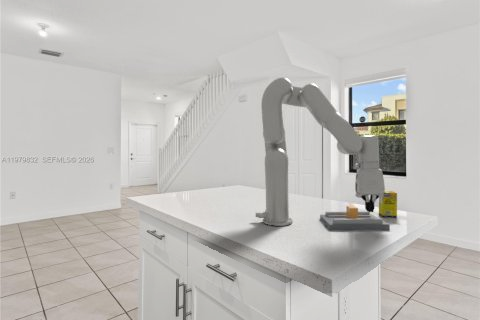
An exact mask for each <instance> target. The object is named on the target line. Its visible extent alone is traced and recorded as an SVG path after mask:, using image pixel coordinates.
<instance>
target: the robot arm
mask: <svg viewBox="0 0 480 320" xmlns="http://www.w3.org/2000/svg"><path fill="white" fill-rule="evenodd" d="M283 105H288V106H294V107H299V108H306V109H307V110H308V111H309V113H310V114H311V115H312V117H313V118H314V119H315V121H316V122H317V123H318V125H320V126H321V127H322V128H324V129H325V130H327V131H328V132H329V133H330V134H331V135H332V136H333V138H335V140H336V141H337V143H336V148H337V150H338V152H339V153H342V155H343V154H344V155H356V154H357V157H358V161H357V163H355V164H354V167H355V168H357V169H356V173H355V183H354V185H355V188H354V189H355V197H356V198H361V199H362V200H363V201H364V207H365V208H364V209H365V211H368V212H370V213H374V212H375V202H376V201H377V200H378V199H379V197H383V196H384V192H385V191H386V187H385V178H384V174H383V170H382V169H381V168H380V147H379V146H380V143H379V142H380V141H379V137H378V135H375V134H368V135H359V134H358V133H357V132H356V130H355V128H353V126H352V125H351V124H350V123H349V121H347V119H346V118H345V117H344V116H343V115H342V114H341V113H340V112H338V110H337V109H336V108H335V107H334V105H333V104H332V103H331V102H330V100H329V99H328V98H327V96H326V95H325V93H324V91H322V89H321V88H320V87H319V86H318V85H316V84H315V83H308V84H305V85H304V86H303V87H302V86H301V87H300V86H293V84H292V82H291V80H290V79H288V78H286V77H278V78H276V79H274V80H273V81H271V82H270V83H269V84H268V85H267V87H266V88H265V90H264V92H263V94H262V97H261V119H262V135H263V140H264V141H263V142H264V149H265V150H264V151H265V156H264V175H265V181H264V183H265V210H264V211H262V212H255V218H258V219H262V223H263V222H264V223H265V224H264V223H263V224H264V225H267V224H268V225H267V226H271V225H274V226H273V227H283V226H284V227H285V226H290V225H291V224H292V223H293V219H292V218H290V216H289V215H290V214H289V213H290V212H289V211H290V210H289V208H290V207H289V157H288V152H287V144H286V131H285V127H284V126H285V125H284V119H283Z"/></svg>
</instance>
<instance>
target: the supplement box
mask: <svg viewBox="0 0 480 320" xmlns="http://www.w3.org/2000/svg"><path fill="white" fill-rule="evenodd" d="M378 215H380V216H381V217H382V218H394V219H395V218H398V193H397V192H396V191H392V190H385V192H384V196H383V197H379V198H378Z"/></svg>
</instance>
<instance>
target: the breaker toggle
mask: <svg viewBox="0 0 480 320" xmlns="http://www.w3.org/2000/svg"><path fill="white" fill-rule="evenodd" d="M345 208H346V210H345V211H346V217H347V218H348V219H358V211H359V208H358V207H357V206H355V205H346V207H345Z"/></svg>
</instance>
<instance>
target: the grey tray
mask: <svg viewBox="0 0 480 320" xmlns="http://www.w3.org/2000/svg"><path fill="white" fill-rule="evenodd" d="M370 213H371V212H368V211H367V210H365V211H359V210H358V215H370ZM324 215H326V216H337V215H346V210H345V211H325V214H324ZM383 221H384V219H382V218H380V217H377V218H358V219H333V223H334V224H383Z"/></svg>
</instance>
